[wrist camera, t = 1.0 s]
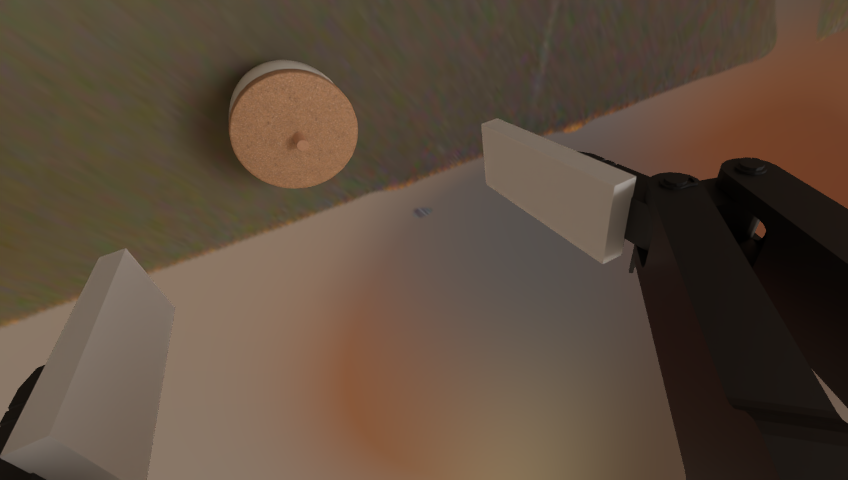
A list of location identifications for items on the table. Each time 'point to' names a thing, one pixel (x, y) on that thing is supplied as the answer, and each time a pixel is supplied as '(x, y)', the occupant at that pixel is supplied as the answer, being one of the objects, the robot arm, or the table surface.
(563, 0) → the table surface
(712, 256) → the robot arm
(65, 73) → the table surface
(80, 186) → the table surface
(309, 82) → the lidded jar
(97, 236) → the table surface
